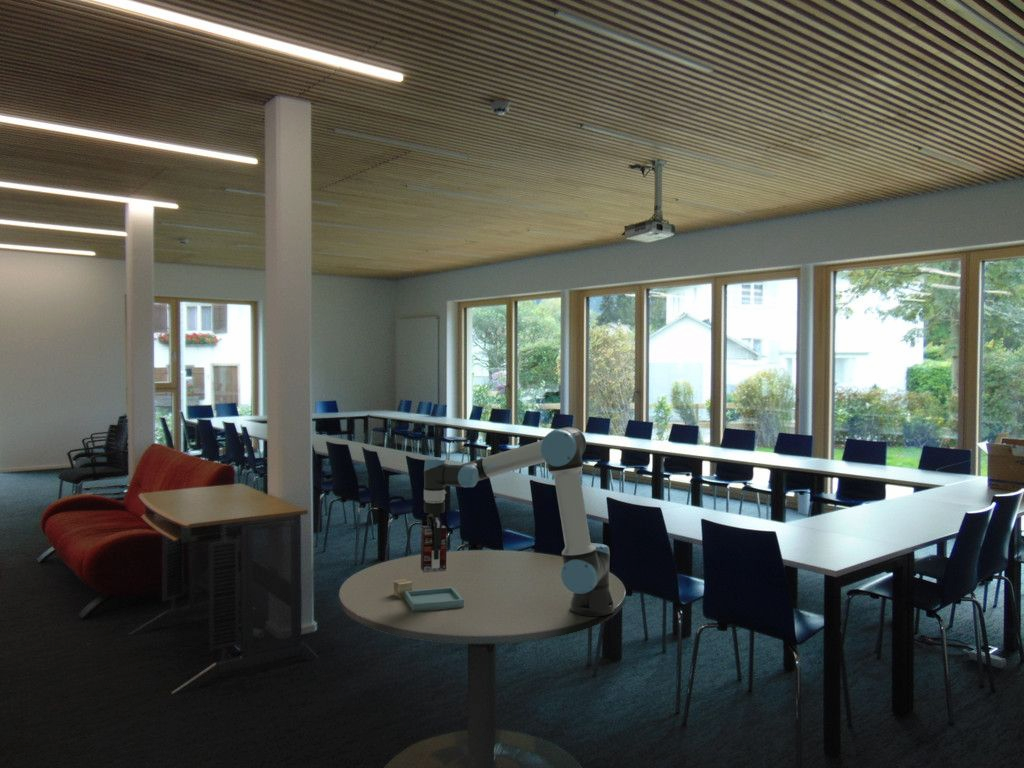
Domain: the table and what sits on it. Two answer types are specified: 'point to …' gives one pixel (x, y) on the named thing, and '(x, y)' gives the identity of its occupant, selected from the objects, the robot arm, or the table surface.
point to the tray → (433, 599)
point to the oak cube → (402, 587)
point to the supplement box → (427, 553)
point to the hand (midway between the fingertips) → (433, 565)
